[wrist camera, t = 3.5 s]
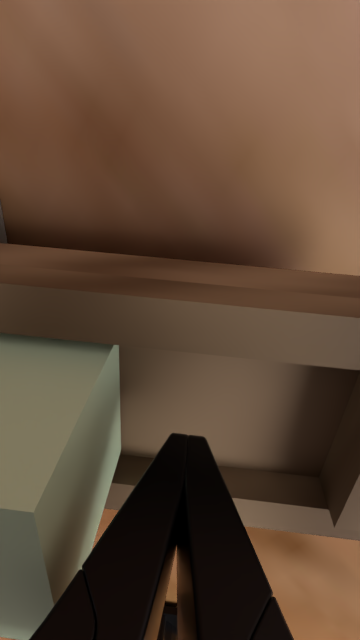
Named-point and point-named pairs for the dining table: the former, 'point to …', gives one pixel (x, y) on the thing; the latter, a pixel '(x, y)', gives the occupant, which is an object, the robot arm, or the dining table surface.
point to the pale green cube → (52, 467)
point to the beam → (215, 370)
